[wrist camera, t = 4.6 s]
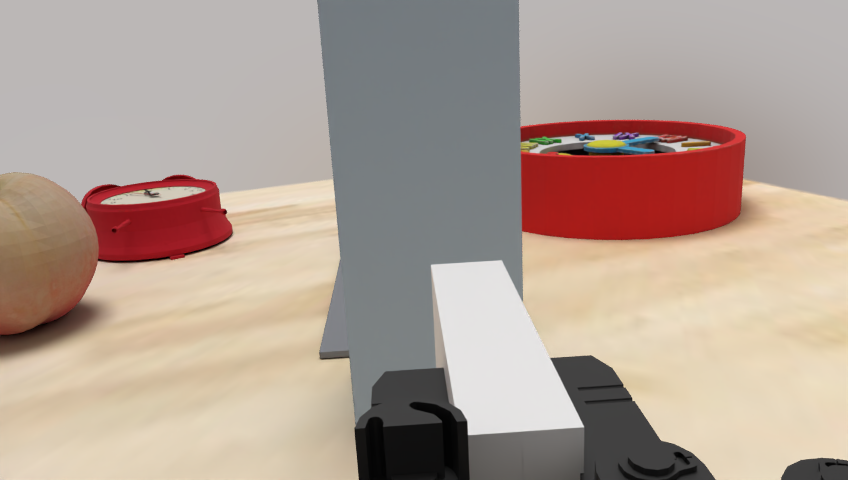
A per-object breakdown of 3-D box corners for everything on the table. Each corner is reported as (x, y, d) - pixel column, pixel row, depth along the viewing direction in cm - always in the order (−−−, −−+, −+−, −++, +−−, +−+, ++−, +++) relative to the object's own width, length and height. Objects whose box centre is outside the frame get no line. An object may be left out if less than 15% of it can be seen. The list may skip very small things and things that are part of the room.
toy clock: (430, 139, 58) (603, 114, 68) (434, 207, 59) (602, 174, 69) (610, 169, 41) (804, 131, 51) (608, 262, 43) (796, 208, 53)
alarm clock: (87, 225, 44) (59, 148, 55) (101, 309, 47) (72, 219, 58) (249, 199, 49) (193, 133, 60) (253, 276, 52) (199, 200, 63)
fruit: (-78, 331, 37) (-118, 184, 35) (75, 288, 43) (49, 159, 41) (-32, 372, 32) (-76, 203, 30) (135, 317, 38) (109, 171, 35)
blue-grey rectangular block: (524, 429, 25) (518, -15, 21) (357, 441, 25) (317, -5, 21) (499, 356, 31) (490, -3, 27) (363, 365, 30) (332, 5, 26)
